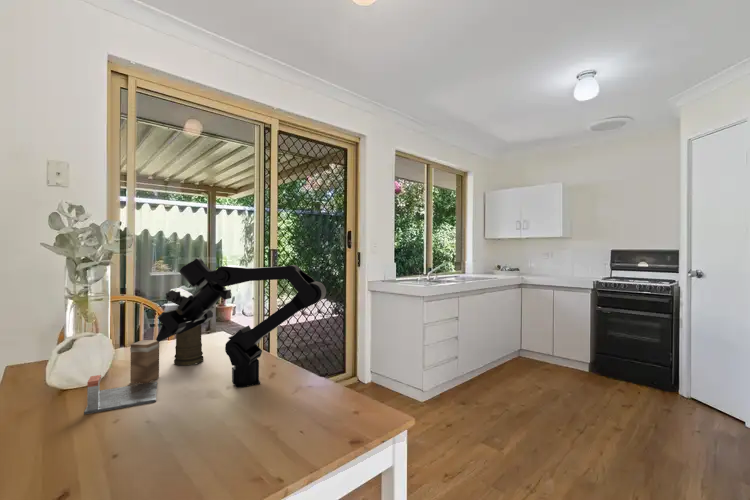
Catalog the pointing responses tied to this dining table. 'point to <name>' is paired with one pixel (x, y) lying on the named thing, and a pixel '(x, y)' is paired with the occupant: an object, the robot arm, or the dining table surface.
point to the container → (188, 346)
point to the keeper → (117, 396)
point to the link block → (144, 361)
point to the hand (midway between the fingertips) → (168, 336)
